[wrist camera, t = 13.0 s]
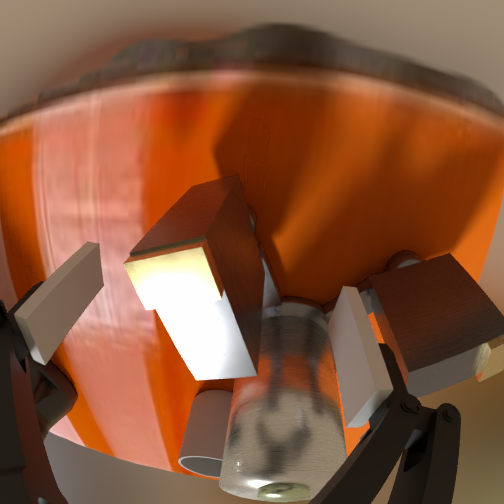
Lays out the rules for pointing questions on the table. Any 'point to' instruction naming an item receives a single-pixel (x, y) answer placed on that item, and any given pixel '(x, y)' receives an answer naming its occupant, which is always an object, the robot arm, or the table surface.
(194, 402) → the cup
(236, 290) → the grey rectangular block
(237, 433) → the stand
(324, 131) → the table surface
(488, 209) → the table surface
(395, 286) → the tan-tipped grey block
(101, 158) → the table surface
